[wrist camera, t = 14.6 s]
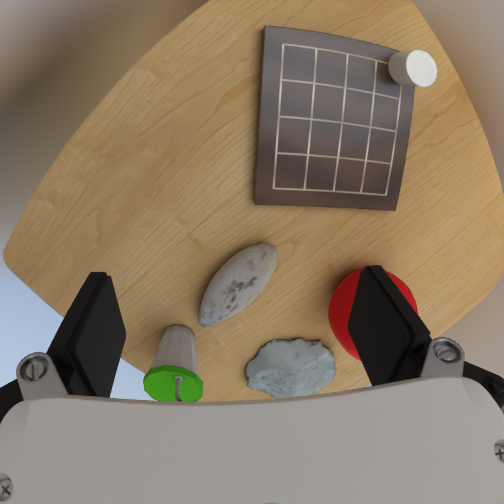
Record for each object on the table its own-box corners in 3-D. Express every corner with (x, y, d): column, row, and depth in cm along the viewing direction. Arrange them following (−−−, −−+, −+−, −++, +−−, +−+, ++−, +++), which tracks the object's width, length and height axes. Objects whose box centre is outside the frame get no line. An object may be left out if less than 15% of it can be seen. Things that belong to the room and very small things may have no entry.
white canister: (388, 47, 27) (406, 45, 23) (418, 57, 27) (438, 56, 24) (386, 81, 29) (404, 81, 25) (416, 89, 29) (435, 91, 26)
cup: (177, 359, 48) (169, 439, 35) (143, 330, 44) (124, 412, 31) (215, 340, 46) (216, 424, 33) (181, 307, 43) (170, 394, 30)
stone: (347, 343, 45) (333, 409, 50) (340, 328, 49) (328, 393, 54) (245, 347, 45) (245, 413, 50) (245, 331, 49) (245, 397, 54)
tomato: (309, 272, 42) (337, 337, 31) (386, 240, 40) (434, 293, 29) (330, 331, 48) (354, 394, 37) (396, 303, 46) (432, 358, 35)
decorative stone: (184, 309, 43) (182, 325, 40) (249, 223, 38) (251, 236, 35) (221, 327, 45) (221, 343, 42) (288, 248, 40) (293, 262, 37)
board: (262, 28, 27) (264, 25, 25) (410, 56, 29) (417, 56, 27) (253, 200, 36) (254, 205, 35) (390, 206, 38) (395, 211, 37)
